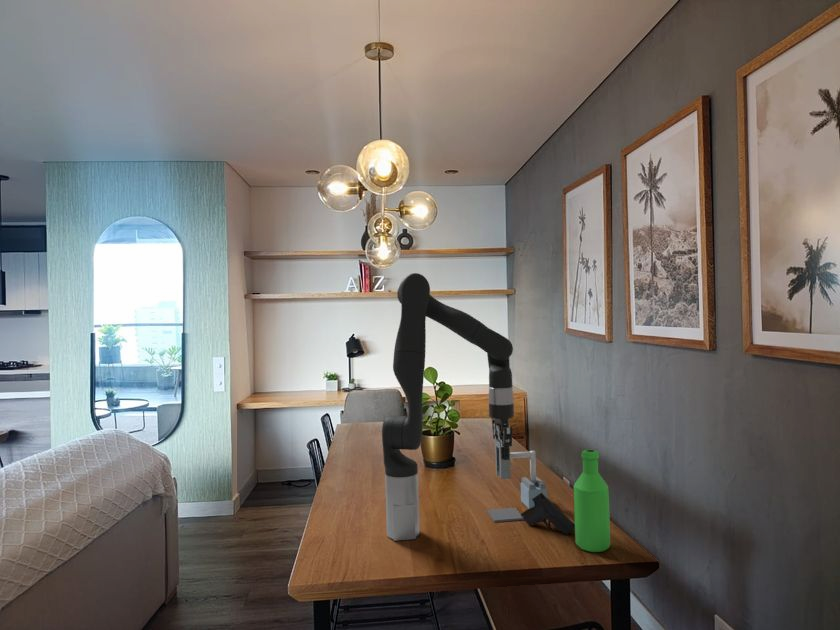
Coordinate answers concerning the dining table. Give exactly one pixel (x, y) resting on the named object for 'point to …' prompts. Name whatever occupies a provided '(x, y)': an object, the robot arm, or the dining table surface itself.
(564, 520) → the handgun
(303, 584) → the dining table surface
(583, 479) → the bottle
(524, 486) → the grey hanging stand
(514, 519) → the mat
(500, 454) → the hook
